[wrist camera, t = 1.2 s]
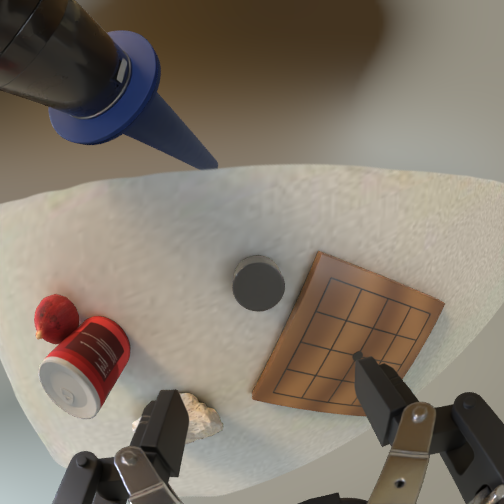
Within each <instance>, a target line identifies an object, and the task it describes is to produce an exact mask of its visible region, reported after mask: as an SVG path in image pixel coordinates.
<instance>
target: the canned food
mask: <svg viewBox="0 0 504 504" xmlns="http://www.w3.org/2000/svg"><path fill="white" fill-rule="evenodd" d="M129 357H130V344H129V341H128V338H127V336H126V334H125V333H124V331H123V330H122V328H121V327H120V326H119V325H118V324H116V323H115V322H114V321H112V320H110V319H108V318H106V317H101V316H95V317H91V318H88V319H86V320H85V321H84V322H83V323H81V324H80V325H79V327H78V328H77V329H76V330H75V331H73V332H72V333H71V334H70V335H69V336H68V337H66V338H65V339H64V340H63V341H62V342H61V343H60V344H59V345H58V346H57V347H56V348H55V349H54V350H53V351H52V352H51V353H50V354H49V355H48V356H47V357H46V358H45V359H44V360H43V362H42V363H41V364H40V366H39V379H40V382H41V384H42V386H43V388H44V390H45V392H46V393H47V395H48V396H49V397H50V398H51V400H52V401H53V402H54V403H55V404H56V405H57V406H58V407H60V408H61V409H62V410H64V411H65V412H67V413H68V414H70V415H72V416H74V417H77V418H81V419H91V418H93V417H95V416H96V414H97V413H98V412H99V410H100V408H101V407H102V405H103V404H104V402H105V400H106V398H107V397H108V395H109V393H110V391H111V390H112V388H113V386H114V384H115V383H116V381H117V379H118V377H119V376H120V374H121V372H122V371H123V369H124V367H125V366H126V364H127V362H128V360H129Z"/></svg>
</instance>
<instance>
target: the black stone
mask: <svg viewBox="0 0 504 504" xmlns="http://www.w3.org/2000/svg"><path fill="white" fill-rule="evenodd" d="M284 290H285V283H284V279H283V276H282V274H281V272H280V270H279V268H278V266H277V265H276V263H275V262H274V261H273V260H271V259H270V258H268V257H265V256H260V255H255V256H250V257H247V258H245V259H244V260H242V261H241V262H240V263H239V264H238V266H237V267H236V269H235V272H234V276H233V294H234V296H235V299H236V300H237V301H238V303H239V304H240V305H241V306H243V307H244V308H246V309H248V310H252V311H265V310H268V309H270V308H272V307H274V306H275V305H276V304H277V303H278V302H279V301H280V300H281V298H282V296H283V294H284Z"/></svg>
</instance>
